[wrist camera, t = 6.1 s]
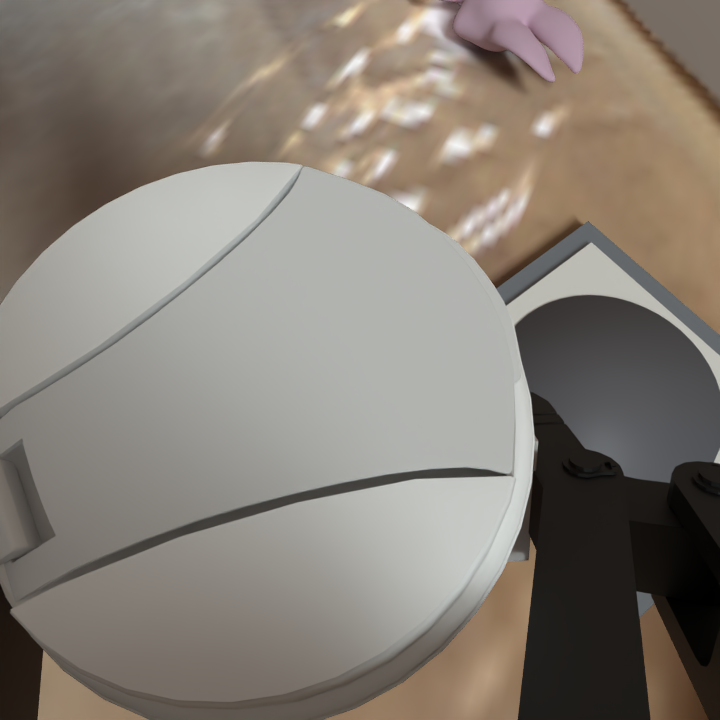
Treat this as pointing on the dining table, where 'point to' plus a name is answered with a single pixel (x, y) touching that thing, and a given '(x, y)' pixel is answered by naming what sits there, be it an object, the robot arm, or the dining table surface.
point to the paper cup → (256, 445)
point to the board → (617, 358)
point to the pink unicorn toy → (521, 31)
